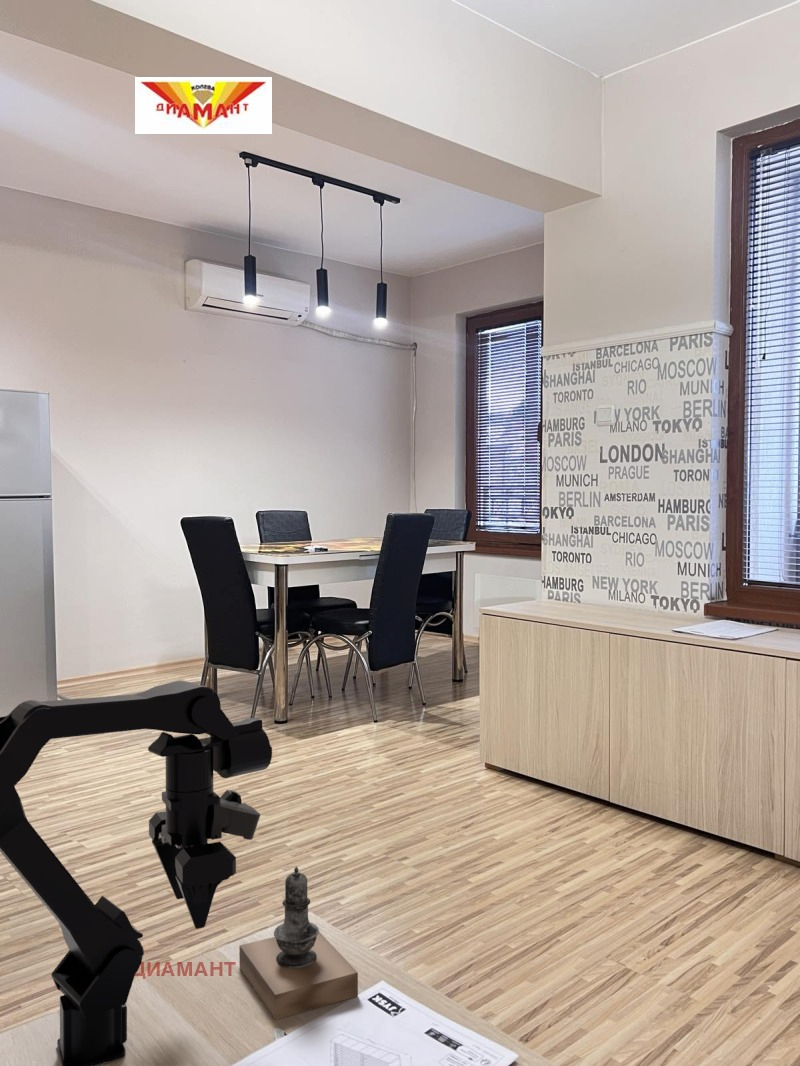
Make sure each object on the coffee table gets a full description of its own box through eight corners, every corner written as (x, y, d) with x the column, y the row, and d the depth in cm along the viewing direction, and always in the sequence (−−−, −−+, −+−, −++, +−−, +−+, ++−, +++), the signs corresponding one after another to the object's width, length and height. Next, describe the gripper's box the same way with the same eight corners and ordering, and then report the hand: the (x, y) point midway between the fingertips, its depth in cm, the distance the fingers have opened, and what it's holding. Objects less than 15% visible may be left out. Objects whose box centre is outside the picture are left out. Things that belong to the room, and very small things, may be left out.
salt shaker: (269, 951, 113) (269, 861, 113) (313, 944, 115) (313, 855, 115) (278, 973, 108) (278, 878, 108) (323, 965, 110) (323, 872, 110)
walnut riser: (275, 1019, 103) (275, 994, 103) (239, 967, 115) (239, 945, 115) (357, 996, 108) (357, 972, 108) (315, 948, 120) (315, 927, 120)
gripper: (278, 796, 100) (278, 929, 101) (230, 759, 117) (231, 873, 117) (183, 811, 95) (183, 951, 95) (147, 770, 112) (148, 889, 112)
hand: (189, 912), depth 105 cm, fingers open, 9 cm apart
